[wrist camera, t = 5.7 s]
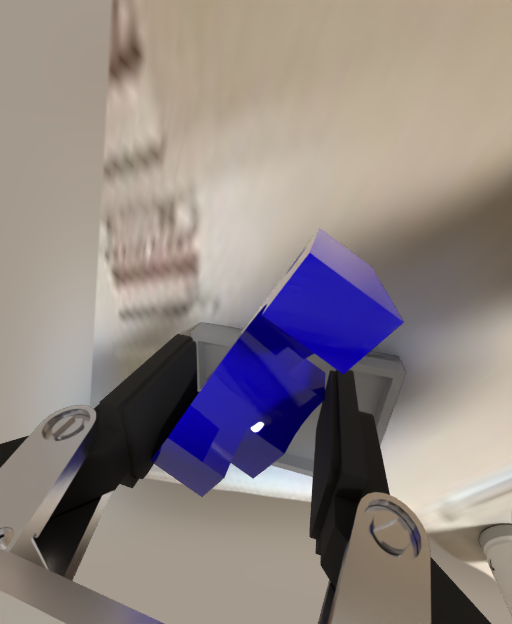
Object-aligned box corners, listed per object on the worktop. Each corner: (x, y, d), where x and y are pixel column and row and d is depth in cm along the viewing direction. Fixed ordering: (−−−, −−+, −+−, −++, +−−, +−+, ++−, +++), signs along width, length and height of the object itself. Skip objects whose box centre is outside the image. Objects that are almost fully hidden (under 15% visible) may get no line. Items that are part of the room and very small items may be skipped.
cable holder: (268, 425, 12) (240, 524, 8) (205, 380, 12) (150, 460, 8) (410, 295, 8) (473, 373, 4) (319, 227, 8) (309, 252, 4)
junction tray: (399, 356, 24) (406, 372, 22) (361, 470, 31) (363, 491, 28) (201, 322, 28) (190, 332, 26) (205, 428, 35) (196, 443, 33)
